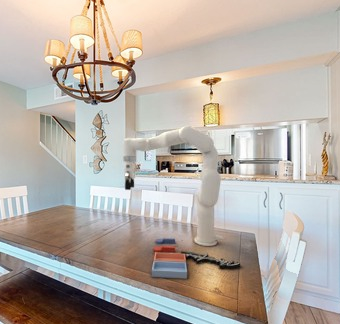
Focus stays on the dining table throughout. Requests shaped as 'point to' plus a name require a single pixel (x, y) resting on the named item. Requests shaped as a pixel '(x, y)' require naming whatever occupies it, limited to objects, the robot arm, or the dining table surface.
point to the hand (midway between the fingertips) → (129, 188)
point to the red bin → (169, 257)
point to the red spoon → (164, 249)
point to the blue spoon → (165, 240)
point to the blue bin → (169, 269)
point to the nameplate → (210, 260)
